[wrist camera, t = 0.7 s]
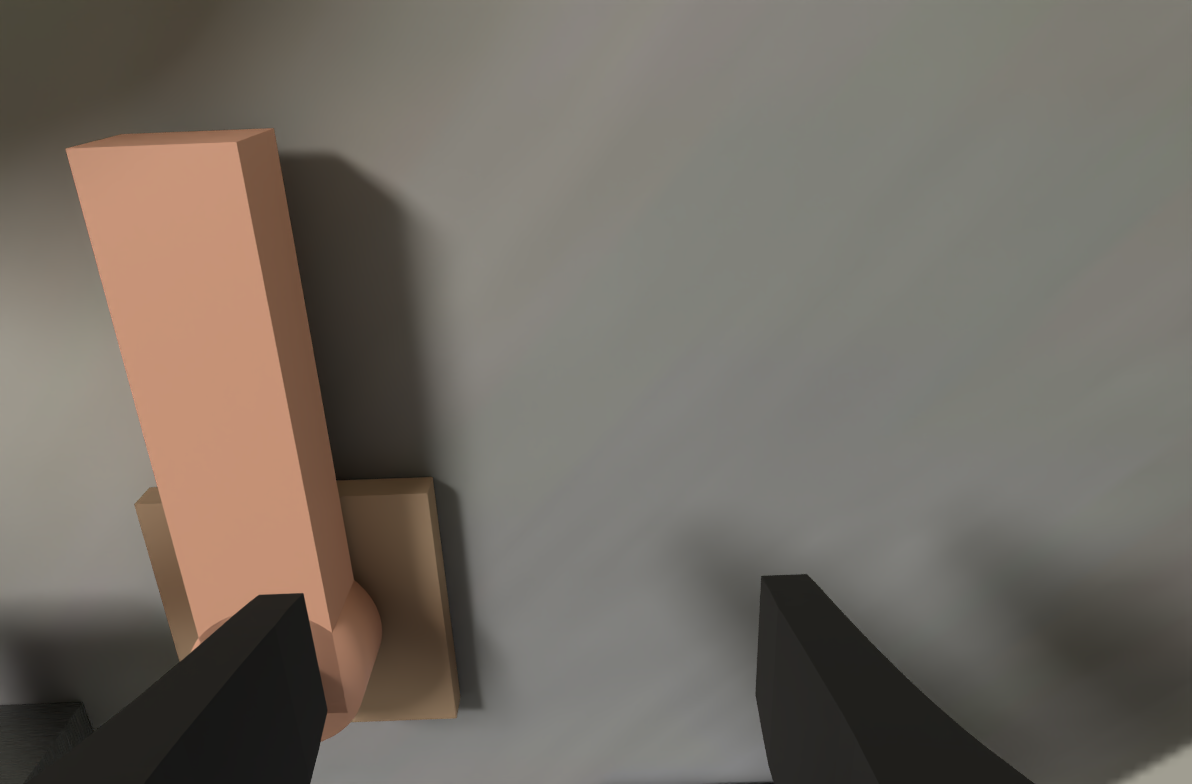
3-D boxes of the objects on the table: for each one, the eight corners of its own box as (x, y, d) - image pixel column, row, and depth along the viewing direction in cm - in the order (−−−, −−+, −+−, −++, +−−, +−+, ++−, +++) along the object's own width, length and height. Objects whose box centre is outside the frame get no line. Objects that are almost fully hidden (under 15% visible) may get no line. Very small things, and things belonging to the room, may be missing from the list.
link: (391, 684, 23) (363, 784, 20) (238, 690, 23) (187, 791, 20) (299, 127, 17) (240, 150, 14) (95, 135, 17) (-6, 159, 14)
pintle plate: (460, 696, 24) (456, 718, 23) (210, 705, 24) (198, 727, 23) (432, 477, 21) (427, 493, 21) (149, 487, 21) (134, 504, 21)
